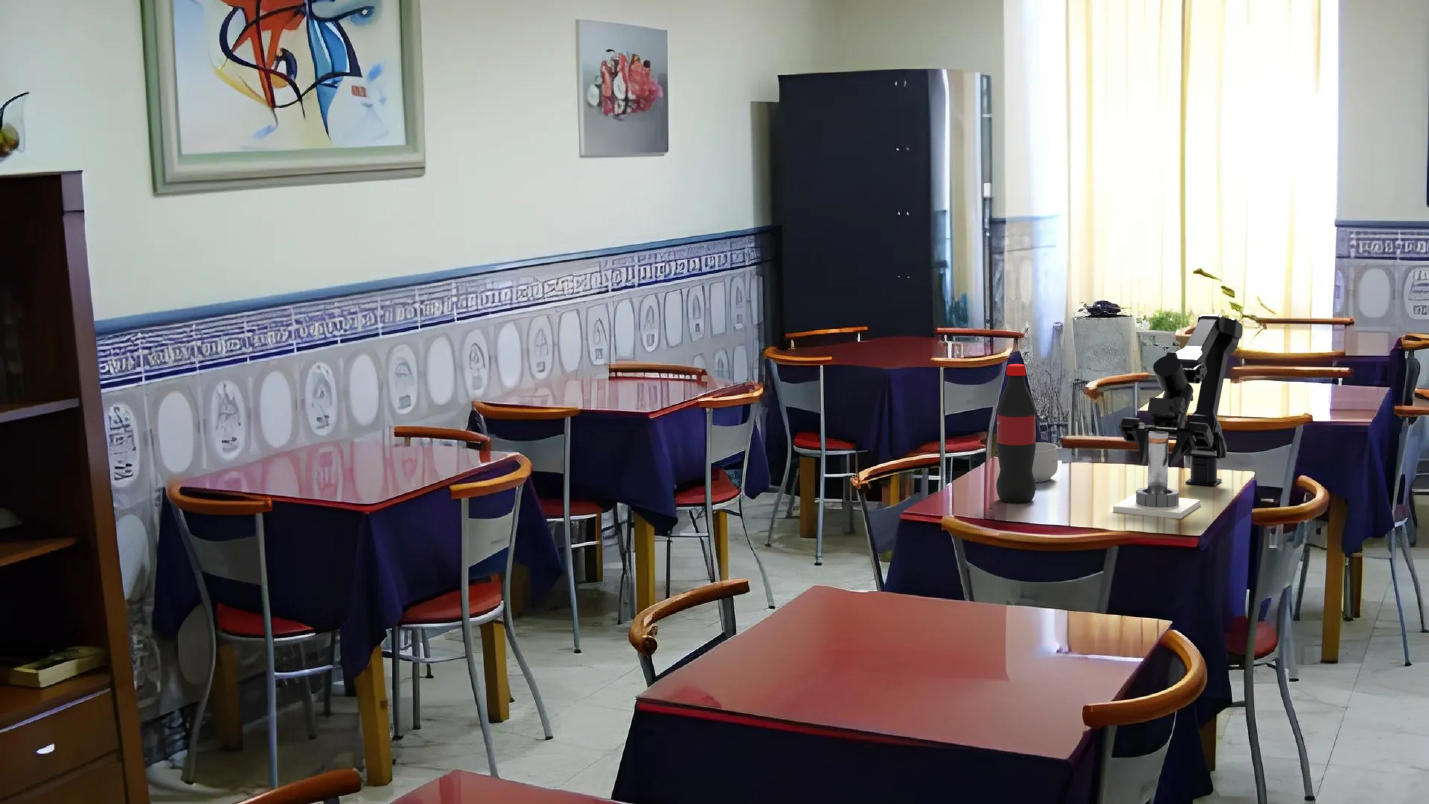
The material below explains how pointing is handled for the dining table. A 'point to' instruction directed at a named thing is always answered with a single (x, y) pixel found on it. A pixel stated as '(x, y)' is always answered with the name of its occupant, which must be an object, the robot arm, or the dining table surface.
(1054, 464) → the teacup
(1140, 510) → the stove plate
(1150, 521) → the dining table surface
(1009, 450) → the cola bottle
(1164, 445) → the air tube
